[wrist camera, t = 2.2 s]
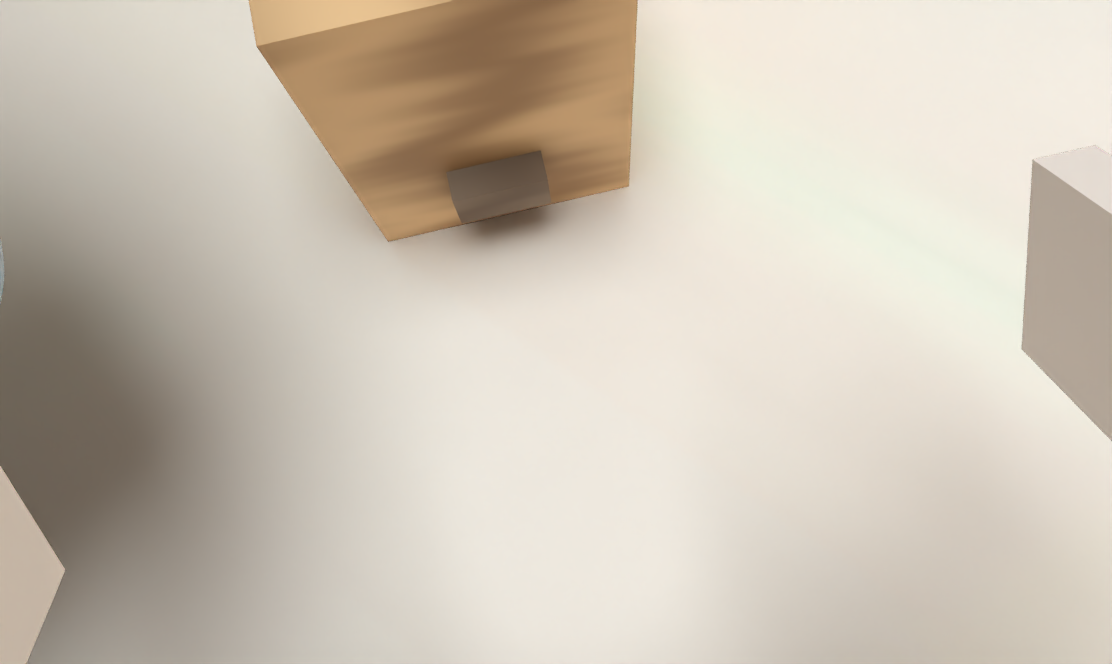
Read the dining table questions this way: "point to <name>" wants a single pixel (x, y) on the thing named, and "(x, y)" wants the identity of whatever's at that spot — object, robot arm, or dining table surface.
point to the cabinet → (460, 100)
